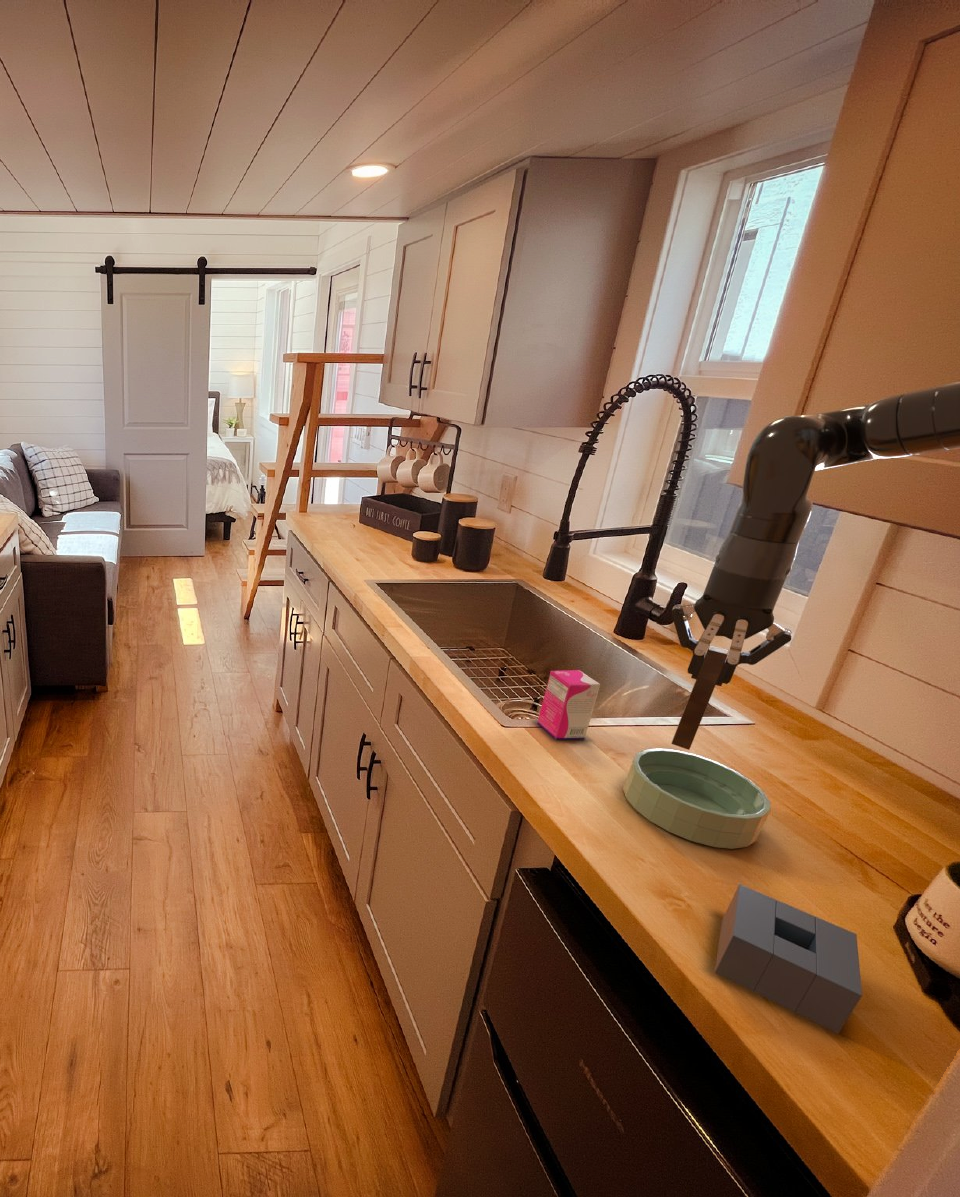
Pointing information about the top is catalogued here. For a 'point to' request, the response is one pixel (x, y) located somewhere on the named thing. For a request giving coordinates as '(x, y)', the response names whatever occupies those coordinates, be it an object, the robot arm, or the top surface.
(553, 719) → the supplement box
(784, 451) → the robot arm
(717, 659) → the rectangular peg
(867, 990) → the top surface
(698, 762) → the bowl
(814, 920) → the holder
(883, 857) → the top surface
